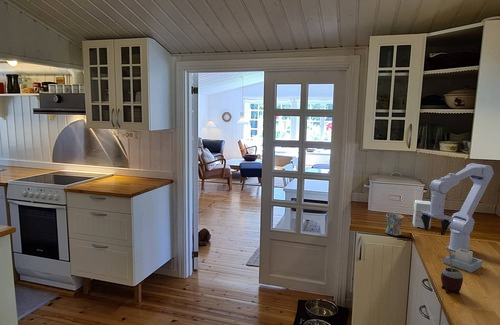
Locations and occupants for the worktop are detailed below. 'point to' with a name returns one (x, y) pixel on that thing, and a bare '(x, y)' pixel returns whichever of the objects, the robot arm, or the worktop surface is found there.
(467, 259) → the box
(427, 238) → the worktop surface
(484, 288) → the worktop surface
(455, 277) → the mate gourd
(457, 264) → the big crate
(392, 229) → the mug
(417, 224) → the supplement box
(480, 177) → the robot arm
